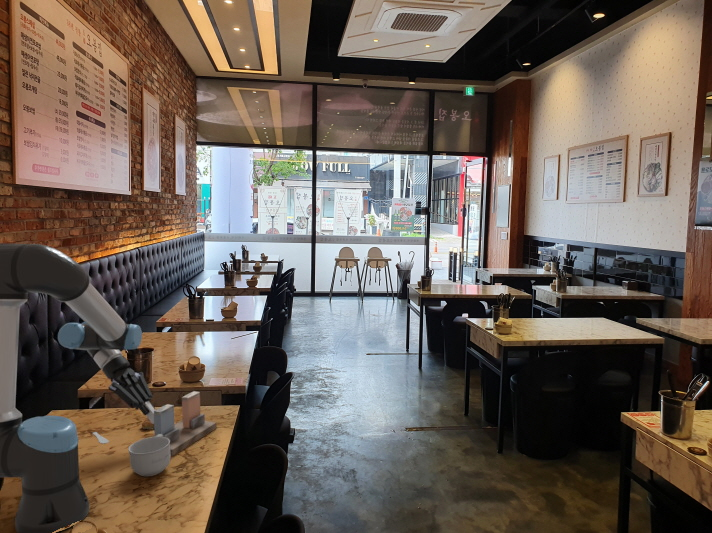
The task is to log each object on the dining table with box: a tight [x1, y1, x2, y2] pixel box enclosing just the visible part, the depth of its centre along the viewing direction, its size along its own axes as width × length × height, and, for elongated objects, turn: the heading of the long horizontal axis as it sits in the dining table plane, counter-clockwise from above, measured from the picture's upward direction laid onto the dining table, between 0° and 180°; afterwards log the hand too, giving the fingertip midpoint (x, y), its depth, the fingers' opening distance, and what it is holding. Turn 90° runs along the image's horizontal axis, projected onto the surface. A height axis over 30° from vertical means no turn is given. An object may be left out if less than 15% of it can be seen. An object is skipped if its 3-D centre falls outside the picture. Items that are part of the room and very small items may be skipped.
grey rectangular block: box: [153, 403, 175, 437], centre depth 163 cm, size 6×2×10 cm, turn 160°
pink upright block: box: [181, 390, 201, 428], centre depth 175 cm, size 6×2×10 cm, turn 160°
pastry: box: [141, 416, 154, 430], centre depth 180 cm, size 9×7×4 cm
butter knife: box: [92, 431, 110, 445], centre depth 175 cm, size 1×24×3 cm
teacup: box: [127, 434, 172, 477], centre depth 149 cm, size 14×11×8 cm
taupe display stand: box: [152, 413, 217, 457], centre depth 169 cm, size 22×12×5 cm, turn 160°
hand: (156, 420), depth 164 cm, fingers closed
